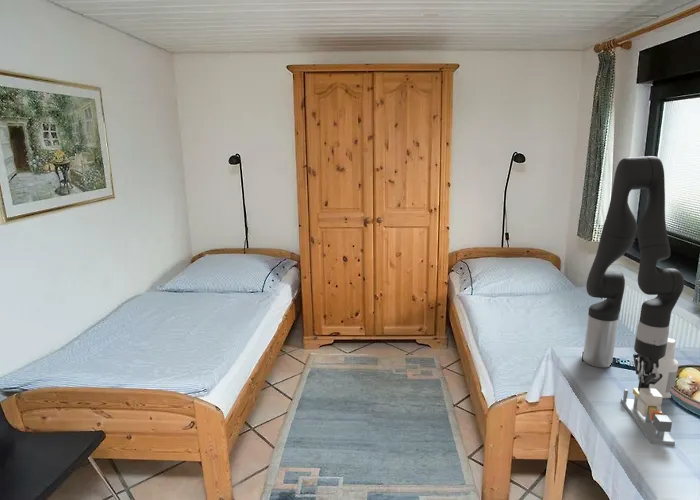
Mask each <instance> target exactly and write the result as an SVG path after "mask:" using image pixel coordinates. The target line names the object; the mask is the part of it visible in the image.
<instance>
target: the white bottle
mask: <svg viewBox="0 0 700 500" xmlns="http://www.w3.org/2000/svg"><path fill="white" fill-rule="evenodd" d="M676 342H677V341H676V339H673V338H670V337H668V342H667V348H666V353H665V356H664V357H663V358H661V359H659V367H658V373H661V374H662V378H661V379H660V380H659V381H658V382H657V383H656V384H655V385H653V384H650V385H649V388H650V389H656V390H657V391H658V392H659V393H660V394H661V395H662V396H663V398H662V399H671V398H672V397H671V394H670V388H671V387H673V386H675V385H676V380H677V375H678V369H679V362H678V360H677V359H676V358H675V353H676Z"/></svg>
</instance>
